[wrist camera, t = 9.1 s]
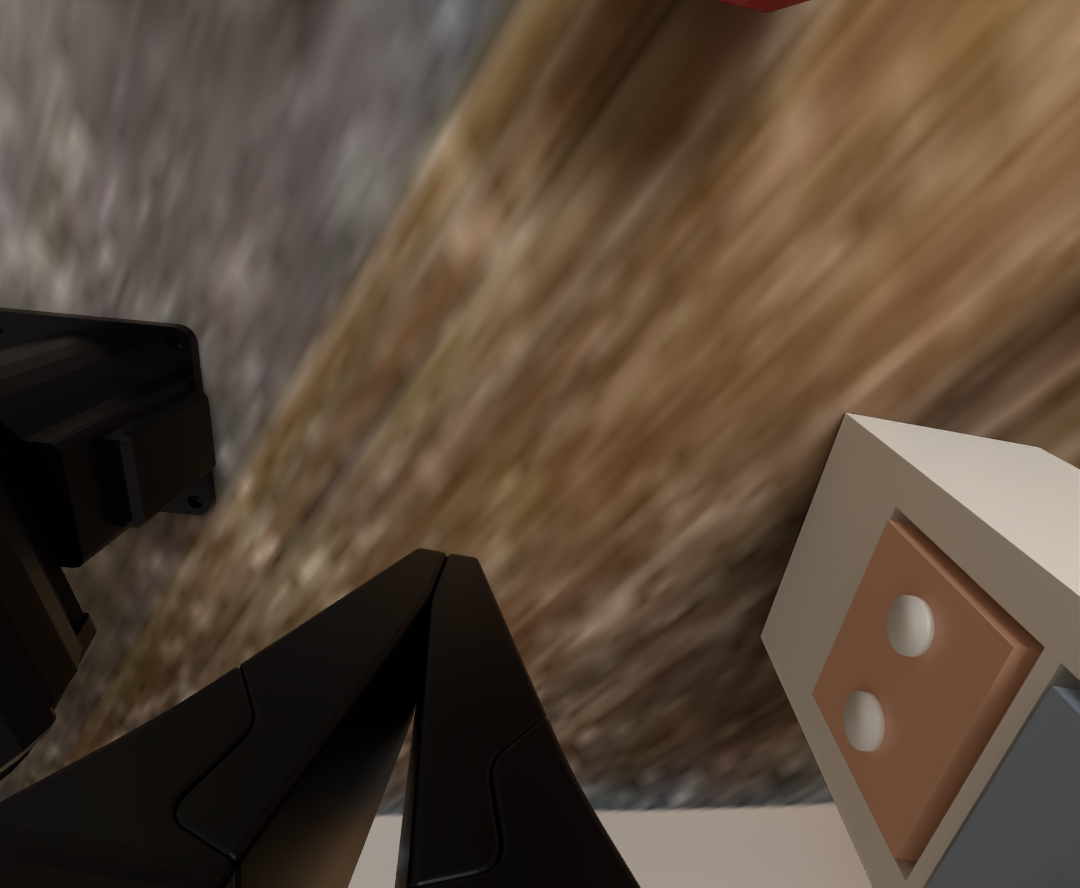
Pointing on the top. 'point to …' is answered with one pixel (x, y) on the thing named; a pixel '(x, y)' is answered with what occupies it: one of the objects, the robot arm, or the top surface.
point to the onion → (763, 4)
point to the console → (973, 544)
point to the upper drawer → (1027, 810)
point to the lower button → (919, 683)
